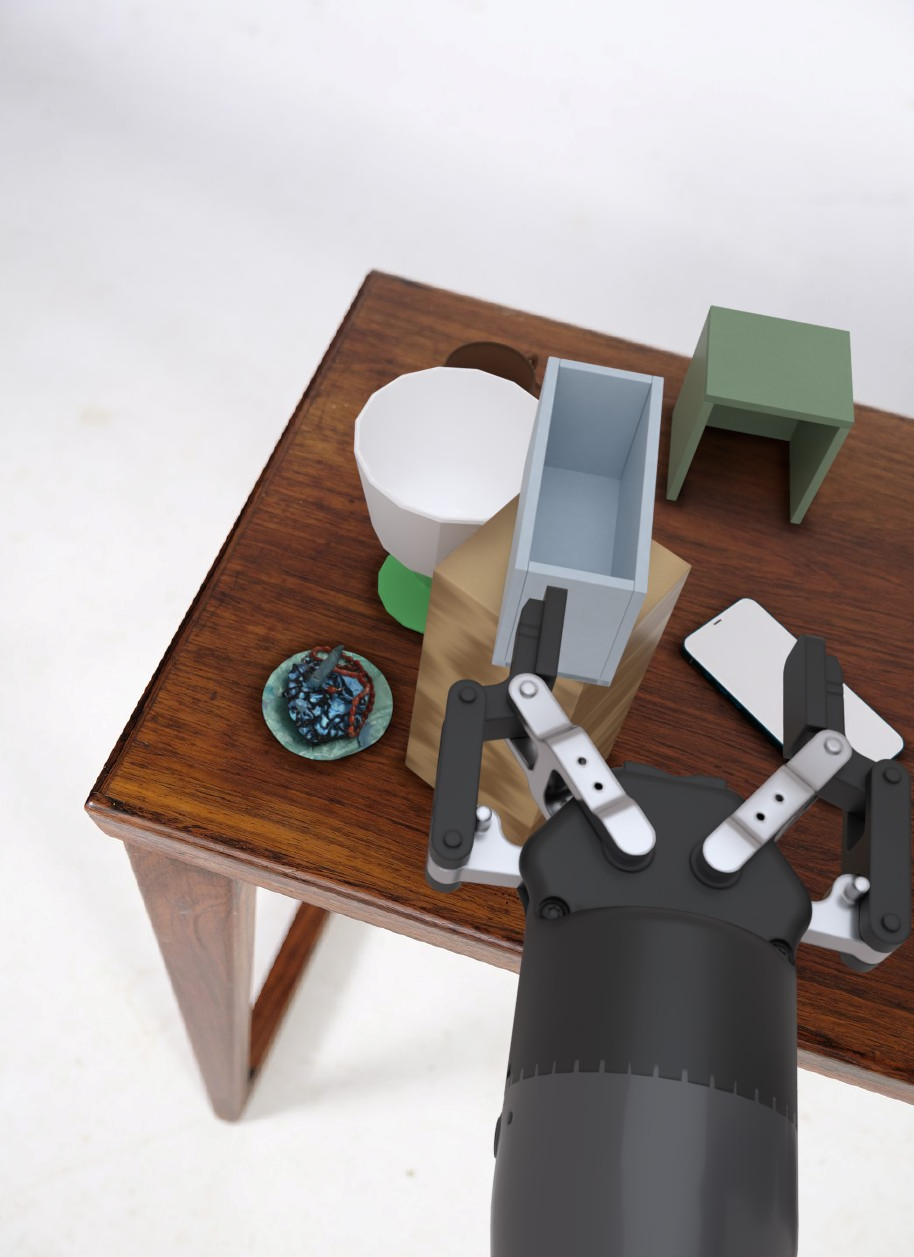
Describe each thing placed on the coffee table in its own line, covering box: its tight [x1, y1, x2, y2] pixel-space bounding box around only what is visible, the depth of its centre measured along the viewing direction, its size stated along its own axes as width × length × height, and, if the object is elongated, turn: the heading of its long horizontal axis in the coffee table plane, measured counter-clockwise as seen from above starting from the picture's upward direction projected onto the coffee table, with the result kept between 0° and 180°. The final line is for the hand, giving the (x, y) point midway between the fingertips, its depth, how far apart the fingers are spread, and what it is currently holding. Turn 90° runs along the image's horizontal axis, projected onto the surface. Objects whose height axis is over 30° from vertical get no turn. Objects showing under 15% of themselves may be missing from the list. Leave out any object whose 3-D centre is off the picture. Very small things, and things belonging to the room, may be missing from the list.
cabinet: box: [666, 304, 855, 525], centre depth 95 cm, size 10×11×12 cm
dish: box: [261, 644, 394, 761], centre depth 82 cm, size 8×7×8 cm
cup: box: [353, 366, 539, 635], centre depth 83 cm, size 14×14×16 cm
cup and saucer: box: [440, 340, 542, 400], centre depth 97 cm, size 12×12×6 cm
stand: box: [404, 493, 692, 847], centre depth 73 cm, size 10×10×22 cm
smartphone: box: [680, 597, 906, 762], centre depth 87 cm, size 8×1×16 cm
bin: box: [492, 356, 665, 687], centre depth 60 cm, size 14×6×8 cm, turn 171°
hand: (677, 624), depth 40 cm, fingers open, 8 cm apart
